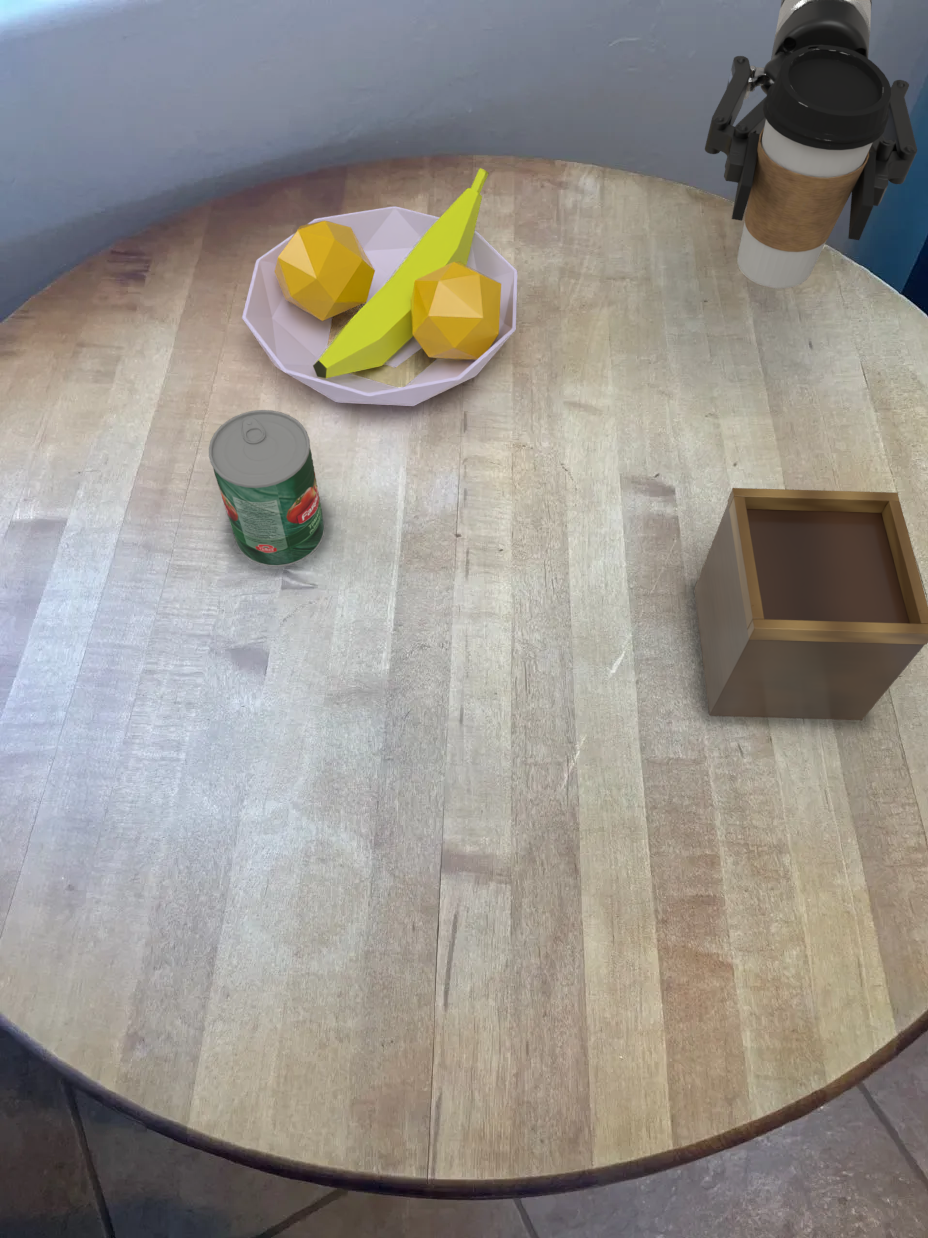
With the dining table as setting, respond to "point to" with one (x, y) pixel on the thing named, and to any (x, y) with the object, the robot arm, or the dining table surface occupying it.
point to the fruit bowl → (384, 300)
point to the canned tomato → (268, 486)
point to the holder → (808, 604)
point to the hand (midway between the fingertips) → (800, 212)
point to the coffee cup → (809, 159)
